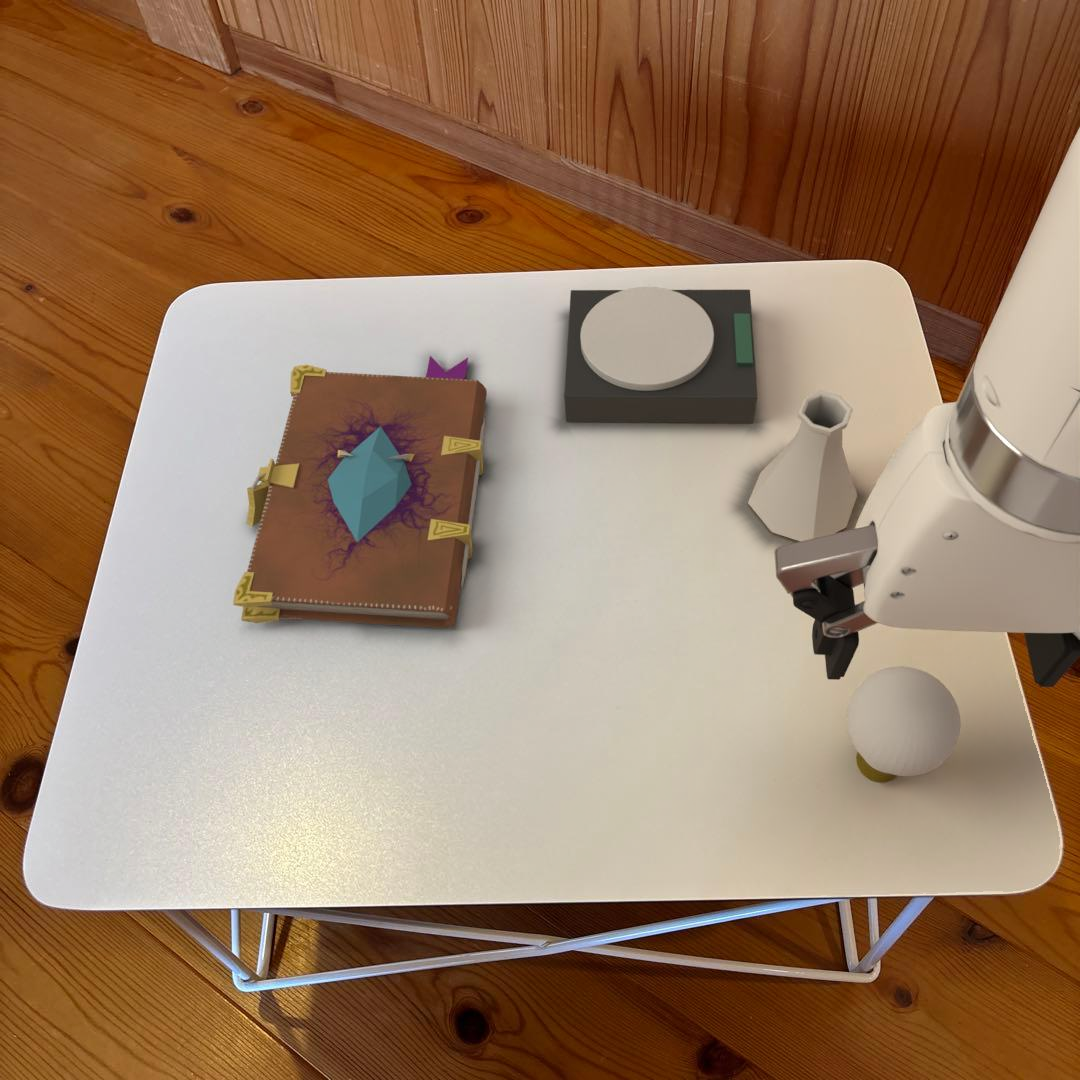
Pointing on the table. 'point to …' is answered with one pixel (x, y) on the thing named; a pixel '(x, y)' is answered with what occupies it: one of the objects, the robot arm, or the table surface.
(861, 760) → the light bulb
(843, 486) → the flask
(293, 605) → the book
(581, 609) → the table surface
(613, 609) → the table surface
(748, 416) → the scale
